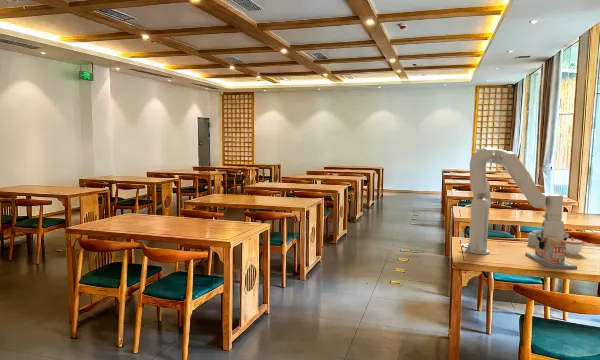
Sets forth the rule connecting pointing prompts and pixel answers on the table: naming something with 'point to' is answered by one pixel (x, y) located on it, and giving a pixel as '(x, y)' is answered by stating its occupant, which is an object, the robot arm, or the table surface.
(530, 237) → the grey bumpy block
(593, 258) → the table surface
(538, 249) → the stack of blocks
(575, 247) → the lidded jar
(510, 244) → the table surface
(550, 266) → the foundation board
